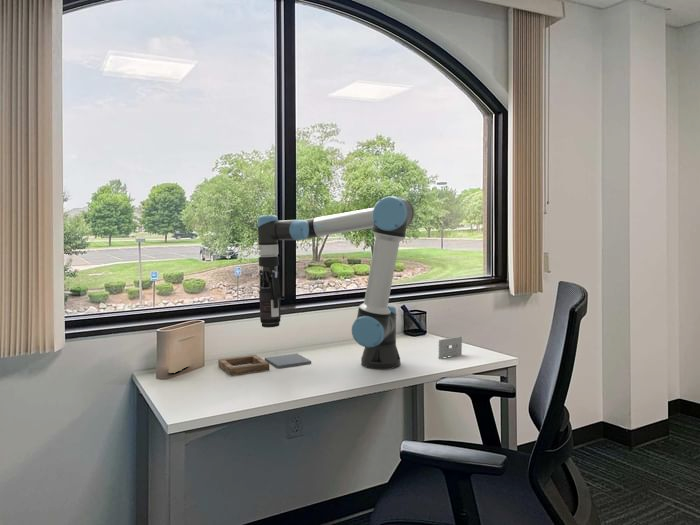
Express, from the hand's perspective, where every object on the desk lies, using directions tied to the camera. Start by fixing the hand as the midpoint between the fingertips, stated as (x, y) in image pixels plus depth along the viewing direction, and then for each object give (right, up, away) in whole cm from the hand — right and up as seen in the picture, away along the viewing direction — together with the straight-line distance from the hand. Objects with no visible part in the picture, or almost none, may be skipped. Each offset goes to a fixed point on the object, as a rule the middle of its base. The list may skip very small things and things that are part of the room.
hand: (270, 314), depth 214 cm
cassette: (+71, -19, +14) cm, 75 cm away
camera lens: (0, -4, 0) cm, 4 cm away
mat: (+6, -19, +6) cm, 21 cm away
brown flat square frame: (-10, -20, -3) cm, 22 cm away
